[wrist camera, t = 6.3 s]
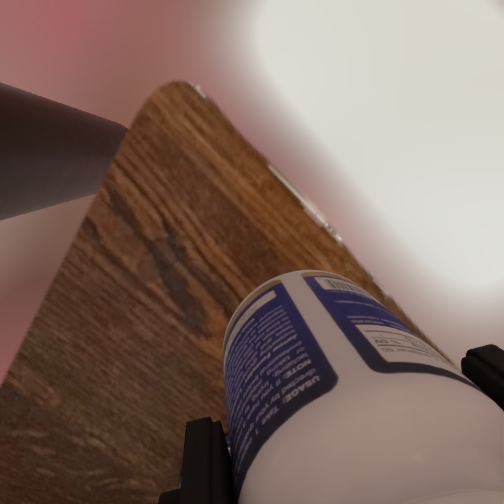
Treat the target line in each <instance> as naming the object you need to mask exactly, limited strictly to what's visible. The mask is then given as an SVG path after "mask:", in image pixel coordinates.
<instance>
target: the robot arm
mask: <svg viewBox="0 0 504 504" xmlns="http://www.w3.org/2000/svg"><path fill="white" fill-rule="evenodd" d="M461 369H462V374H463V375H464V376H466V377H467V378H468V379H469V380H470V381H471V382H473V383H474V384H475V385H476V386H477V387H478V388H480V389H481V390H482V391H483V392H484V393H485V394H486V395H488V396H489V397H490V398H491V399H492V400H493V401H494V402H495V403H496V404H497V405H498V406H499V407H500V408H501V409H502V410H503V411H504V351H503V350H502V349H500V348H499V347H497V346H496V345H493V344H490V345H485V346H482V347H478V348H474V349H470V350H468V351H467V353H466V357H464V358H462V360H461ZM158 504H235V503H234V491H233V480H232V467H231V456H230V453H229V449H228V445H227V442H226V438H225V435H224V431H223V427H222V424H221V421H220V420H219V421H216V422H212V419H211V417H210V416H209V417H205V418H201V419H197V420H193V421H189V422H187V423H186V432H185V443H184V454H183V465H182V477H181V488H179V489H176V490H172V491H168V492H164V493H162V494H161V495H160V498H159V502H158Z"/></svg>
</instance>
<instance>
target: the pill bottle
mask: <svg viewBox="0 0 504 504" xmlns="http://www.w3.org/2000/svg"><path fill="white" fill-rule="evenodd" d="M223 370H224V381H225V394H226V406H227V417H228V428H229V441H230V454H231V467H232V480H233V491H234V503H235V504H504V411H503V410H502V409H501V408H500V407H499V406H498V405H497V404H496V403H495V402H494V401H493V400H492V399H491V398H490V397H489V396H488V395H486V394H485V393H484V392H483V391H482V390H481V389H480V388H478V387H477V386H476V385H475V384H474V383H473V382H471V381H470V380H469V379H468V378H467V377H466V376H464V375H463V374H462V373H461V372H460V371H459V370H457V369H456V368H455V367H454V366H453V365H452V364H450V363H449V362H448V361H447V360H446V359H445V358H444V357H442V356H441V355H440V354H439V353H438V352H437V351H435V350H434V349H433V348H432V347H431V346H430V345H428V344H427V343H426V342H425V341H424V340H423V339H421V338H420V337H419V336H418V335H417V334H416V333H414V332H413V331H412V330H411V329H410V328H409V327H408V326H406V325H405V324H404V323H403V322H402V321H401V320H399V319H398V318H397V317H396V316H395V315H394V314H393V313H391V312H390V311H389V310H388V309H387V308H386V307H385V306H383V305H382V304H381V303H380V302H379V301H377V300H376V299H375V298H374V297H373V296H371V295H370V294H369V293H368V292H367V291H366V290H364V289H363V288H362V287H360V286H359V285H357V284H356V283H354V282H353V281H351V280H349V279H347V278H345V277H343V276H340V275H338V274H334V273H331V272H327V271H321V270H300V271H294V272H289V273H286V274H282V275H279V276H277V277H275V278H272V279H270V280H268V281H266V282H265V283H263V284H262V285H260V286H259V287H257V288H256V289H255V290H253V291H252V292H251V293H250V294H249V295H248V296H247V297H246V298H245V299H244V300H243V301H242V302H241V304H240V305H239V306H238V308H237V309H236V311H235V312H234V314H233V316H232V318H231V320H230V322H229V325H228V327H227V330H226V333H225V337H224V343H223Z"/></svg>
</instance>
